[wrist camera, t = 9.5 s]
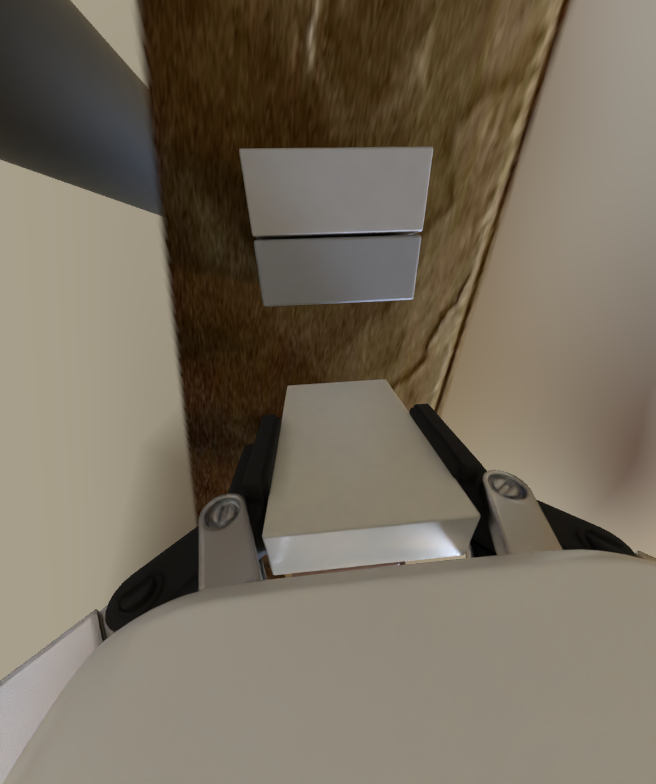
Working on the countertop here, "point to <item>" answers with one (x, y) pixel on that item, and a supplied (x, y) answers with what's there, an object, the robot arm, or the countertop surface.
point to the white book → (359, 484)
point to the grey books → (336, 221)
